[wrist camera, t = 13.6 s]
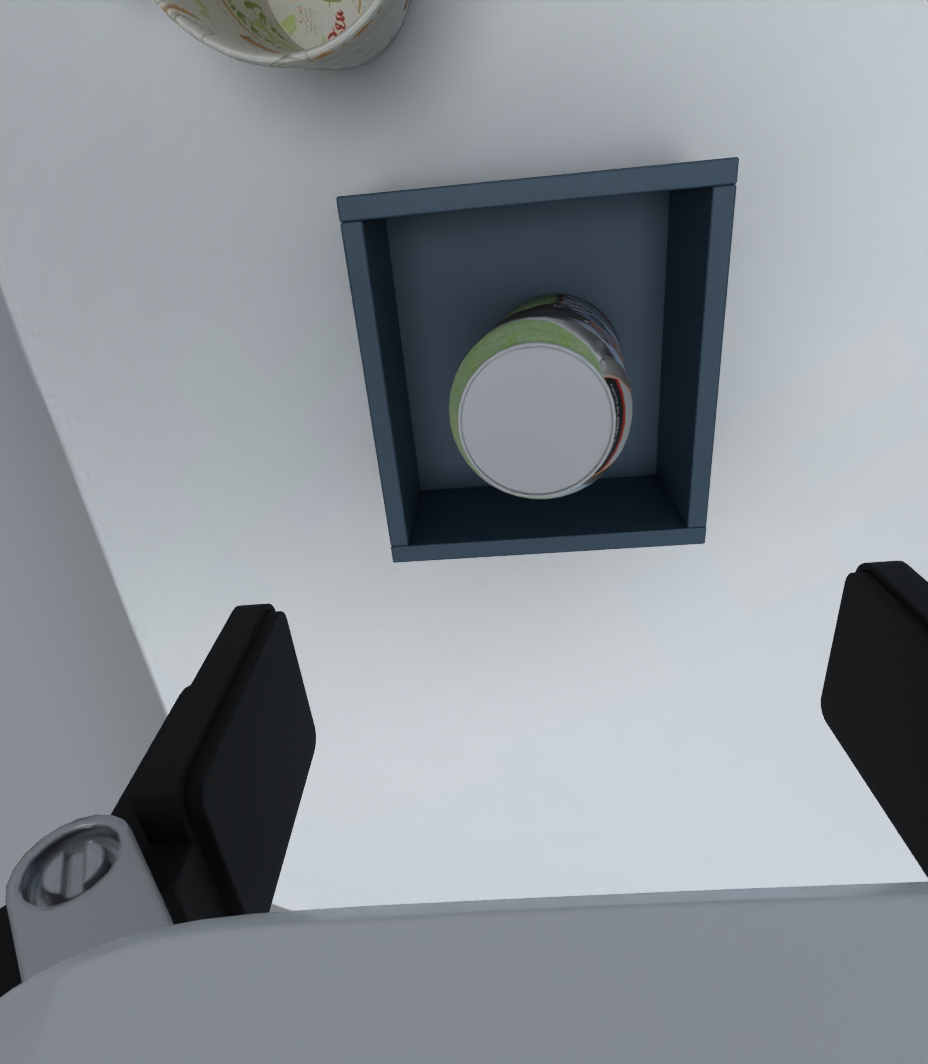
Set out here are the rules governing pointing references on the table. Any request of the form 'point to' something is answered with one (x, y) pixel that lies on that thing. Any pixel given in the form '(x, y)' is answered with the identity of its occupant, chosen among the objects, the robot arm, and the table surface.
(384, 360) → the bin
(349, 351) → the table surface
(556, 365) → the beverage can
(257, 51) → the mug
